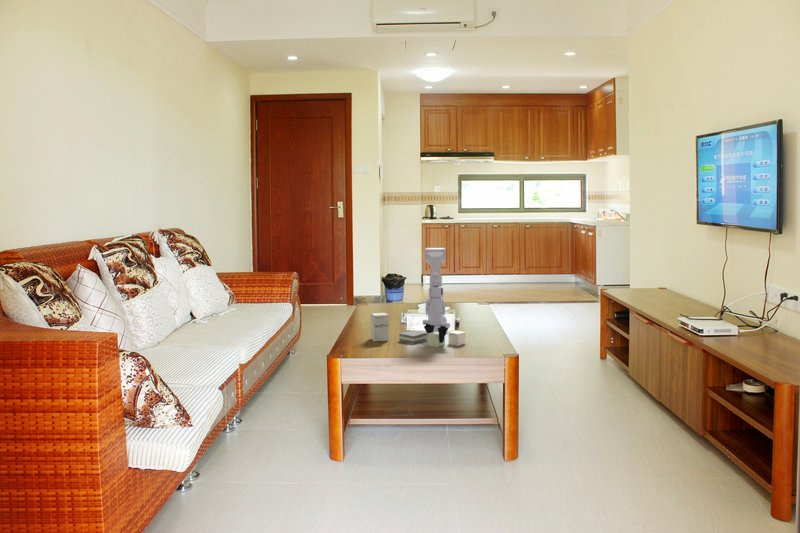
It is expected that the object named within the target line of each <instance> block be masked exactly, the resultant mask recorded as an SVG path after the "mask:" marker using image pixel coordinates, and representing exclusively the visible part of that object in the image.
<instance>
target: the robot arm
mask: <svg viewBox="0 0 800 533" xmlns="http://www.w3.org/2000/svg"><path fill="white" fill-rule="evenodd" d="M424 250H425V251H424V253H425V254H424V256H425V257H424V258H425V262H426V264H427V265H428V264H429V266H430V275H429V287H428V298H426V300H425V315H426V316H427V318H428V319H423V320H422V325H424V326H423V328H424V330H425V332H424V333H426V336H428V333H431V332H439V342H440V343H442V342H444V337H445V336H446V335H447V334H449V329H450V328H451V323H449V322H448V320H447V318H446V316H445V315H446V301H445V299H444V286H443V276H442V274H440V273H441V272H440V270H441V269H440V268H441V264H444V263H445V262H446V256H447V254H446V248H445V247H426V248H425V249H424ZM445 338H446V337H445Z"/></svg>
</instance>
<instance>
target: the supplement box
mask: <svg viewBox="0 0 800 533" xmlns="http://www.w3.org/2000/svg"><path fill="white" fill-rule="evenodd" d="M389 316H390V315H389V314H388V313H386V312H376V313H375V312H373V313H370V340H371V341H373V342H374V343H376V342H386V341H387V342H388V341H389V340H390V339H389V336H390V335H389V332H390V330H389V325H390V324H389V323H390V322H389V319H390V318H389Z"/></svg>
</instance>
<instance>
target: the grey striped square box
mask: <svg viewBox="0 0 800 533" xmlns="http://www.w3.org/2000/svg"><path fill="white" fill-rule="evenodd" d="M398 338H399V342H402V343H408V344H413V345H414V344H419V343H422V342H427V334H426V333H425V332H421V331H416V330H409V331H405V332H401V333H399V336H398Z"/></svg>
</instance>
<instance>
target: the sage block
mask: <svg viewBox="0 0 800 533" xmlns="http://www.w3.org/2000/svg"><path fill="white" fill-rule="evenodd" d="M445 338H446V337H444V342H442V343H440V342H439V332H431V333H428V335H427V346H429V347H436V348H438V347H442V346H445V345H446V344H445V343H446V342H445V341H446V339H445Z"/></svg>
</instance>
